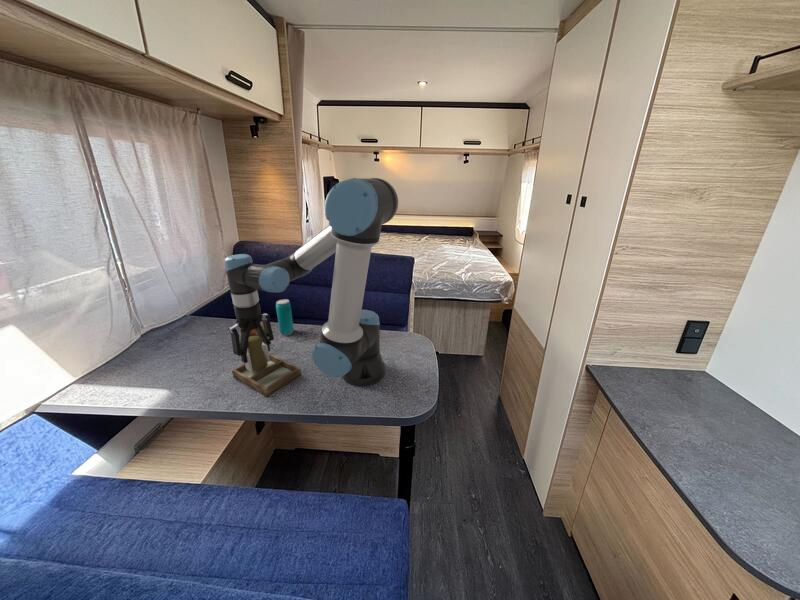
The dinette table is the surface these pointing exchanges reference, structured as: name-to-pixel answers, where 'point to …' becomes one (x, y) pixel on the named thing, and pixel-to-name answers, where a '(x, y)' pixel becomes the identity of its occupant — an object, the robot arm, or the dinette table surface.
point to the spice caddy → (268, 376)
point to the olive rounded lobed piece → (256, 353)
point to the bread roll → (254, 332)
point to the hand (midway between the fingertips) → (258, 364)
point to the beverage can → (284, 317)
